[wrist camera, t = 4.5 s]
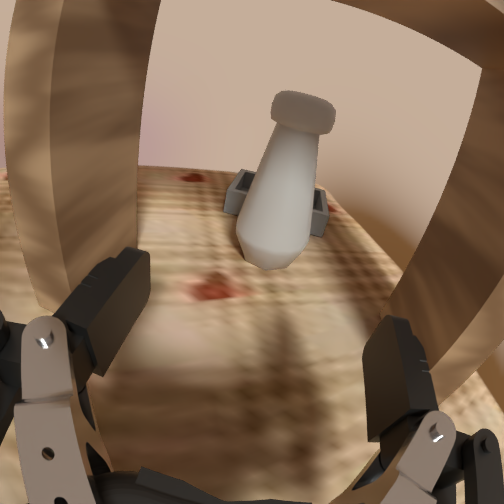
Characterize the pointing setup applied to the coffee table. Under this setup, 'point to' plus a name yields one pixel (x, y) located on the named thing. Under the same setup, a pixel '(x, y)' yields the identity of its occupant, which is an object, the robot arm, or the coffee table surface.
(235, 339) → the coffee table surface
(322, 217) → the trap tray
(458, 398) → the coffee table surface
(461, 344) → the tunnel gate
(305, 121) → the salt shaker
